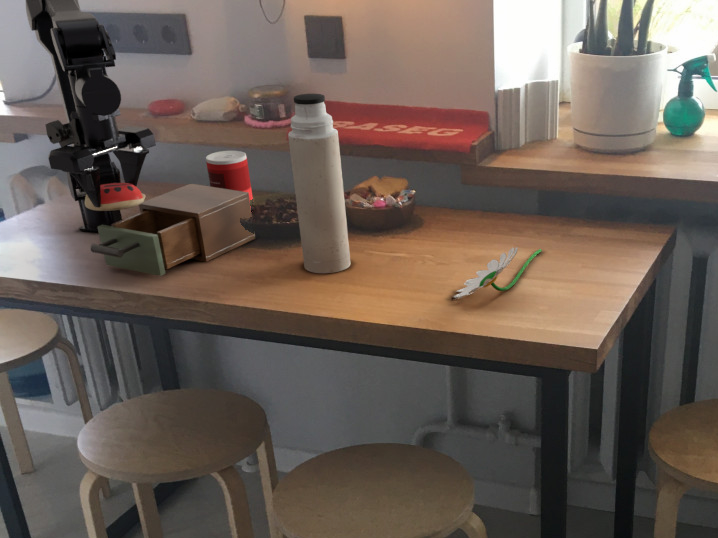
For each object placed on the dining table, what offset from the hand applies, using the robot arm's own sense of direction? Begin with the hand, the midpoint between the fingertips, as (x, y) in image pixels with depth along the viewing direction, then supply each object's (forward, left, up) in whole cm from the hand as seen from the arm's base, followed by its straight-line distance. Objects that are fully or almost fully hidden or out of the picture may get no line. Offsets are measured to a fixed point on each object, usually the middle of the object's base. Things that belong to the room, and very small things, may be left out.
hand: (114, 200), depth 171 cm
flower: (+67, +9, -11) cm, 69 cm away
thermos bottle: (+34, +8, -11) cm, 37 cm away
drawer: (+5, -1, -10) cm, 11 cm away
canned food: (+3, +31, -11) cm, 34 cm away
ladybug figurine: (0, 0, -1) cm, 1 cm away
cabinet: (+7, +12, -11) cm, 18 cm away
